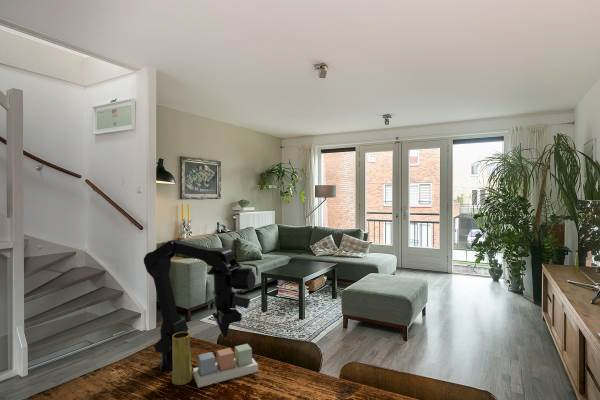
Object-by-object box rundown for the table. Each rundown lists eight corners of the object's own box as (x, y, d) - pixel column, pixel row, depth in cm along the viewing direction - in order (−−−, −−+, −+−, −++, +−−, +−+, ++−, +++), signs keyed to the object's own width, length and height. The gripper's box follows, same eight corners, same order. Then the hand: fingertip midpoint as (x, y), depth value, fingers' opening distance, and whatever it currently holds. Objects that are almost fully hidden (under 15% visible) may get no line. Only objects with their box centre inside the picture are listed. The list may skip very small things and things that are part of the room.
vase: (186, 386, 106) (184, 339, 105) (167, 384, 107) (166, 338, 107) (196, 376, 112) (194, 331, 111) (178, 374, 113) (177, 330, 113)
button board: (193, 375, 112) (193, 368, 112) (249, 361, 120) (249, 354, 120) (198, 387, 105) (198, 379, 105) (258, 371, 113) (257, 364, 113)
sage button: (235, 361, 116) (234, 346, 116) (247, 358, 118) (247, 343, 118) (239, 367, 112) (238, 351, 112) (252, 363, 114) (251, 348, 114)
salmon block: (217, 366, 113) (216, 350, 113) (230, 362, 115) (230, 347, 115) (220, 371, 110) (220, 356, 109) (234, 368, 112) (233, 352, 112)
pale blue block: (198, 370, 111) (197, 355, 111) (212, 367, 113) (211, 351, 113) (201, 376, 107) (200, 360, 107) (215, 373, 109) (215, 357, 109)
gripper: (257, 291, 108) (258, 341, 108) (238, 279, 124) (239, 322, 124) (221, 296, 102) (222, 349, 103) (206, 283, 119) (208, 329, 119)
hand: (224, 336), depth 112 cm, fingers closed
